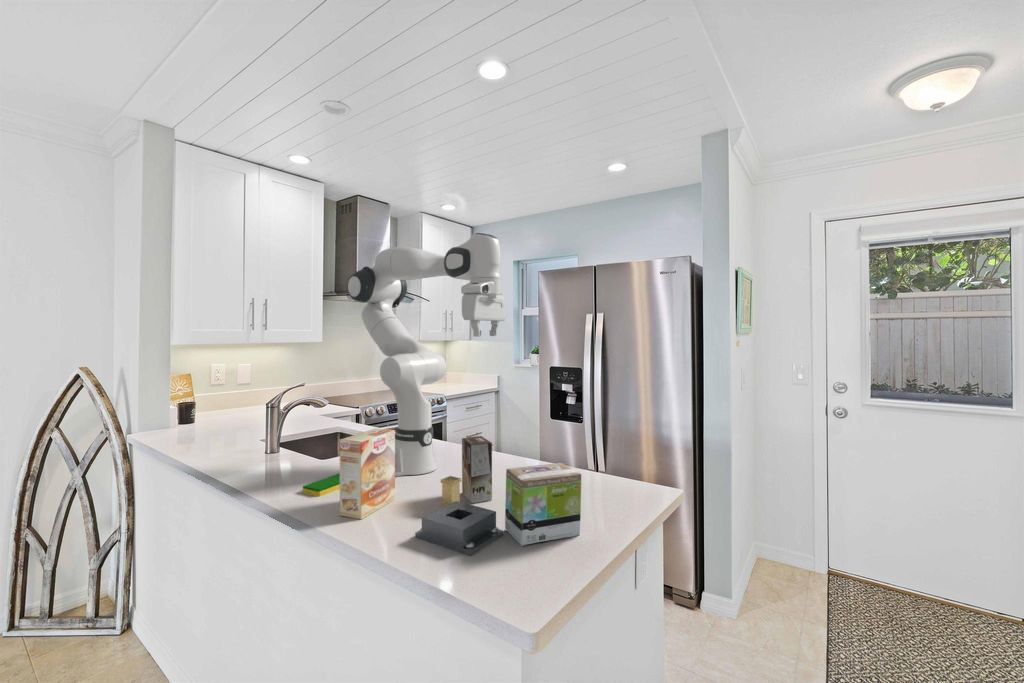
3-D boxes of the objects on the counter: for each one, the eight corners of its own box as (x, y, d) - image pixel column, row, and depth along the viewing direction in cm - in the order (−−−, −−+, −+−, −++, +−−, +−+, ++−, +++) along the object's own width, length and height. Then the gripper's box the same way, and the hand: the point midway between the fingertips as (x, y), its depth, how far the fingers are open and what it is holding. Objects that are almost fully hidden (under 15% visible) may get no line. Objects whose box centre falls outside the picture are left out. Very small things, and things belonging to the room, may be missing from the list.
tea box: (522, 548, 102) (522, 480, 101) (504, 529, 111) (504, 467, 111) (581, 536, 108) (582, 472, 107) (560, 519, 117) (560, 460, 117)
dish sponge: (356, 483, 145) (356, 475, 145) (319, 498, 132) (319, 489, 132) (340, 480, 148) (340, 472, 148) (302, 494, 136) (302, 485, 136)
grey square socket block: (415, 536, 107) (415, 515, 107) (450, 519, 117) (450, 499, 117) (470, 555, 98) (470, 532, 98) (503, 534, 108) (503, 513, 108)
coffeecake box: (361, 520, 117) (361, 441, 116) (338, 516, 119) (337, 439, 118) (396, 499, 131) (396, 429, 130) (375, 496, 133) (374, 427, 132)
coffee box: (493, 500, 130) (493, 442, 129) (471, 504, 127) (470, 444, 127) (481, 489, 138) (481, 435, 138) (460, 493, 136) (460, 437, 135)
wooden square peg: (440, 510, 123) (440, 479, 123) (450, 505, 126) (450, 475, 126) (451, 513, 121) (451, 482, 121) (461, 508, 124) (461, 478, 124)
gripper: (493, 291, 149) (493, 335, 149) (457, 286, 130) (457, 336, 131) (511, 291, 146) (510, 335, 146) (477, 286, 127) (477, 337, 128)
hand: (485, 336), depth 138 cm, fingers open, 8 cm apart
